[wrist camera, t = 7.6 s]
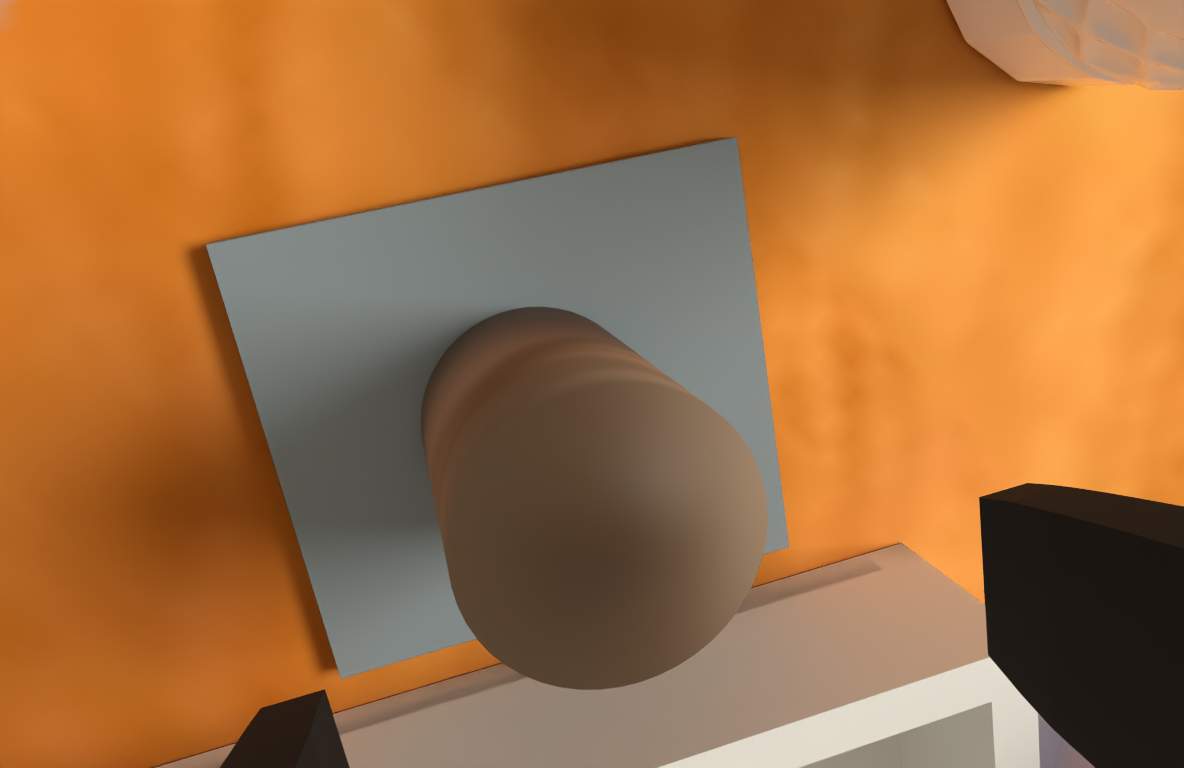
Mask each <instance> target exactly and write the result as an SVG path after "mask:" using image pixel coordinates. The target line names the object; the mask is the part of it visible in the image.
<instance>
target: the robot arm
mask: <svg viewBox="0 0 1184 768" xmlns="http://www.w3.org/2000/svg"><path fill="white" fill-rule="evenodd" d="M979 501H980V519H981V537H982V556H983V574H984V593H985V611H986V629H987V648H988V656H989V657H990V658H991V659H992V660H993V662H994V663H995V664H996V665H997V666H998V667H999V669H1000V670H1001V671H1002V672H1003V673H1004V675H1005V676H1006V677H1007V678H1008V679H1009V681H1010V682H1011V683H1012V684H1013V685H1014V687H1015V688H1016V689H1017V690H1018V691H1019V692H1020V694H1021V695H1022V696H1023V697H1024V698H1025V699H1026V700H1027V701H1028V703H1029V704H1030V705H1031V706H1032V707H1033V708H1034V709H1035V710H1036V711H1037V712H1038V728H1039V755H1040V768H1184V507H1183V506H1177V505H1172V504H1166V503H1161V502H1155V501H1150V500H1144V499H1139V498H1133V497H1128V496H1122V495H1116V494H1111V493H1104V492H1098V491H1092V490H1086V489H1079V488H1072V487H1064V486H1055V485H1045V484H1032V483H1026V484H1023V485H1020V486H1016V487H1013V488H1009V489H1006V490H1003V491H999V492H996V493H992V494H989V495H986V496H982V497H979ZM220 768H350V767H349V764H348V761H347V758H346V755H345V751H344V748H343V745H342V742H341V739H340V736H339V732H338V729H337V726H336V723H335V720H334V717H333V714H332V710H331V707H330V704H329V701H328V698H327V695H326V691H325V690H321V691H318V692H315V693H311V694H308V695H304V696H301V697H297V698H294V699H291V700H287V701H284V702H280V703H277V704H274V705H270V706H267V707H263V708H261V709H260V710H259V712H258V713H257V714H256V716H255V717H254V718H253V720H252V721H251V722H250V724H249V725H248V727H247V728H246V730H245V731H244V733H243V734H242V736H241V737H240V738H239V740H238V741H237V743H236V744H235V746H234V747H233V749H232V750H231V752H230V753H229V755H228V756H227V758H226V759H225V761H224V762H223V764H222V765H221V766H220Z"/></svg>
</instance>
